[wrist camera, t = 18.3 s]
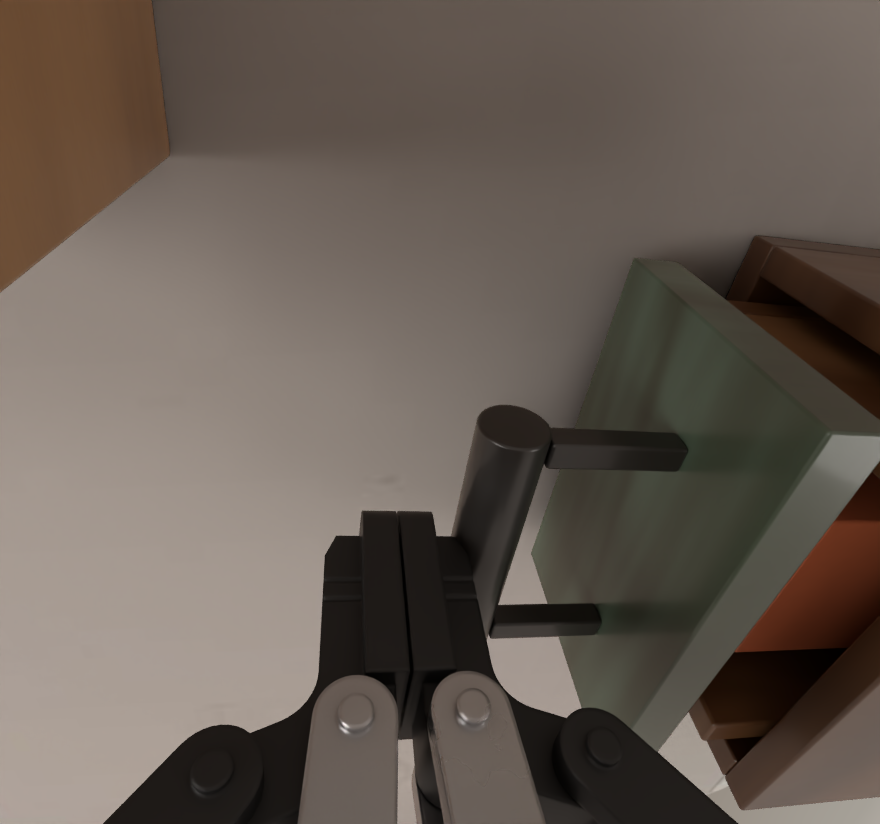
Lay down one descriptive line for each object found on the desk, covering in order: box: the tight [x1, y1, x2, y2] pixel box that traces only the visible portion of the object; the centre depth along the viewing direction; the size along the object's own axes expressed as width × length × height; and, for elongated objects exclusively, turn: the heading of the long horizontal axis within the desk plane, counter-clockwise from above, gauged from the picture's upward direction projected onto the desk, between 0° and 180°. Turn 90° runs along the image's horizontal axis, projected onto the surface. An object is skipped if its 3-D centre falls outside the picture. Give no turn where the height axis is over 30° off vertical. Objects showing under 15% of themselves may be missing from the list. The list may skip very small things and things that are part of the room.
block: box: [734, 472, 880, 652], centre depth 14 cm, size 4×4×4 cm
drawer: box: [451, 258, 880, 752], centre depth 14 cm, size 17×10×7 cm, turn 82°
